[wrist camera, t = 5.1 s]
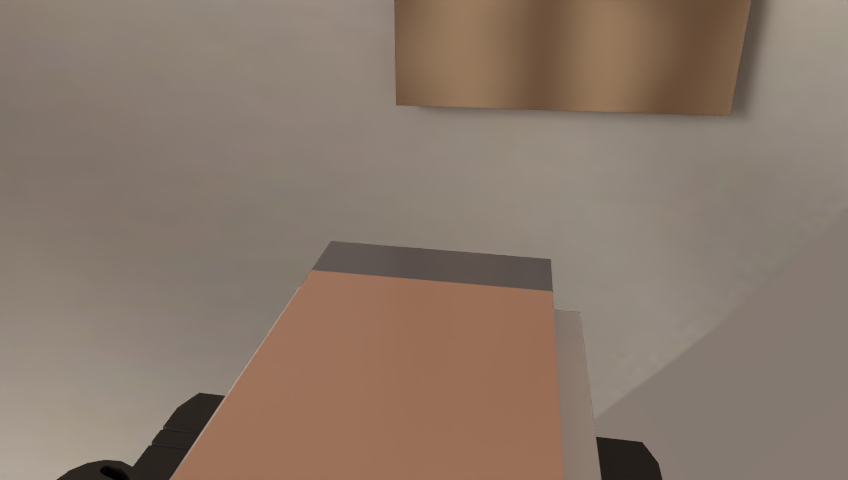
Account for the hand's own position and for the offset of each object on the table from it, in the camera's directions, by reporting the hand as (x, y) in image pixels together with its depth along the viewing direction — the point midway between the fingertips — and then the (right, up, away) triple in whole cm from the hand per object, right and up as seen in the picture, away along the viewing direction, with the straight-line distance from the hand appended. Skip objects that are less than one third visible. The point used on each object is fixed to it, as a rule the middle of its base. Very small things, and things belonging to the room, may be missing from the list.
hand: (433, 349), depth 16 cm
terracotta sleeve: (0, 0, 0) cm, 0 cm away
